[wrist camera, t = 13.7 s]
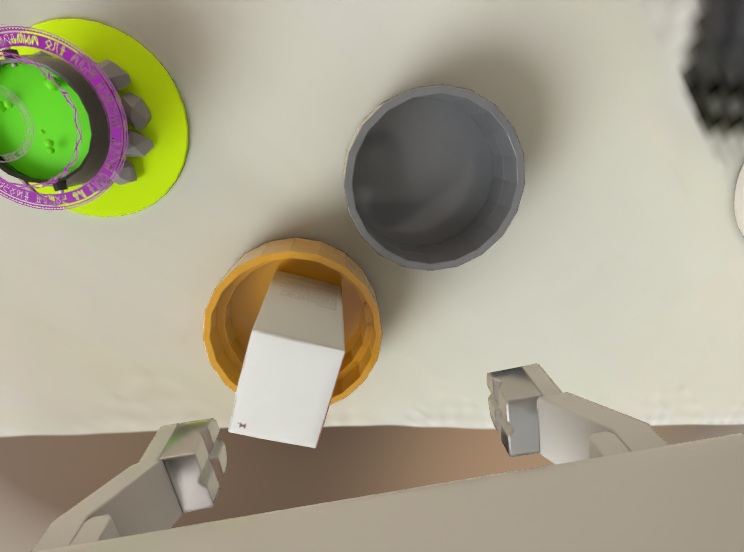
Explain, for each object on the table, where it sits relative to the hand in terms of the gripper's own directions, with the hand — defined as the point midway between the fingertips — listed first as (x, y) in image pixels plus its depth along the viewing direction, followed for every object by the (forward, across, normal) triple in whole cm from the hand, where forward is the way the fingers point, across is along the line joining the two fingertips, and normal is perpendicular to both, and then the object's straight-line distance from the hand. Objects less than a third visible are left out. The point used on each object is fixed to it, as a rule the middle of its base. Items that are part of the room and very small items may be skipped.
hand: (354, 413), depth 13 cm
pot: (+28, -7, -3) cm, 29 cm away
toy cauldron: (+28, +19, -11) cm, 36 cm away
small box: (+28, +6, +8) cm, 30 cm away
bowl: (+28, +6, +8) cm, 30 cm away
